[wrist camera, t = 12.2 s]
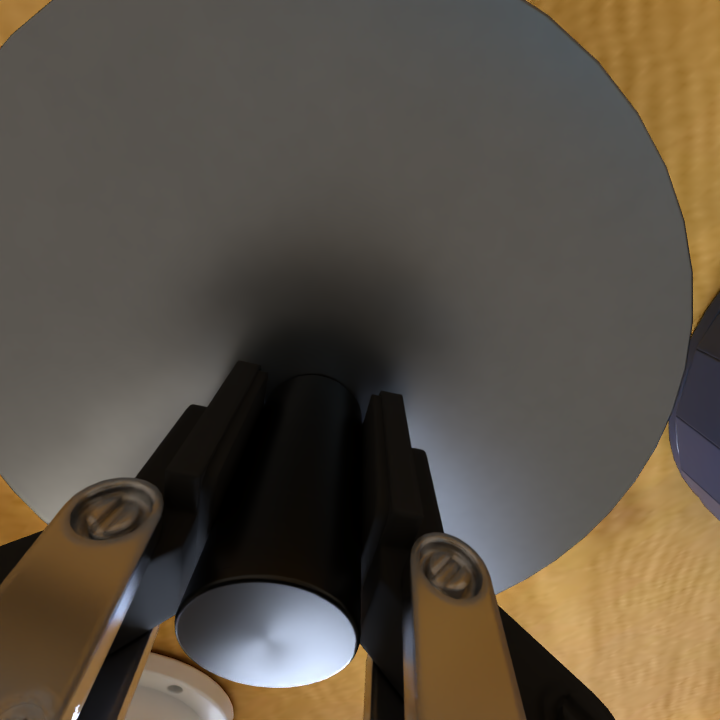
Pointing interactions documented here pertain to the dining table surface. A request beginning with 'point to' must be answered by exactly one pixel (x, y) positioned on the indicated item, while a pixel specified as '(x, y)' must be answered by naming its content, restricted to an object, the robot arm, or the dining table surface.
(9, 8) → the dining table surface
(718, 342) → the pan
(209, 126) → the lid
